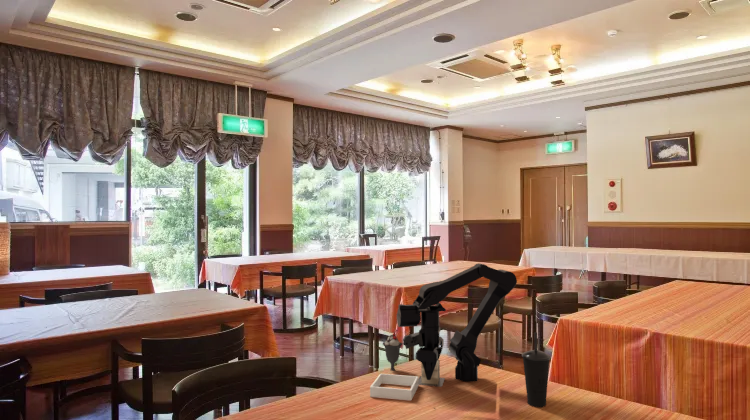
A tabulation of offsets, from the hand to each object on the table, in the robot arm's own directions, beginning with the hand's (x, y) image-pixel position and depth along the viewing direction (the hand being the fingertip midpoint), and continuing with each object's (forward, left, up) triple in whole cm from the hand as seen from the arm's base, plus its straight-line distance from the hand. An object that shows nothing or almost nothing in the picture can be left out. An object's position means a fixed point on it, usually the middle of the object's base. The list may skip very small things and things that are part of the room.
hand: (430, 375), depth 149 cm
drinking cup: (-31, +8, -3) cm, 32 cm away
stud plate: (0, 0, -3) cm, 3 cm away
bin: (+9, +11, -3) cm, 15 cm away
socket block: (0, 0, -2) cm, 2 cm away
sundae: (+14, -8, -3) cm, 16 cm away
